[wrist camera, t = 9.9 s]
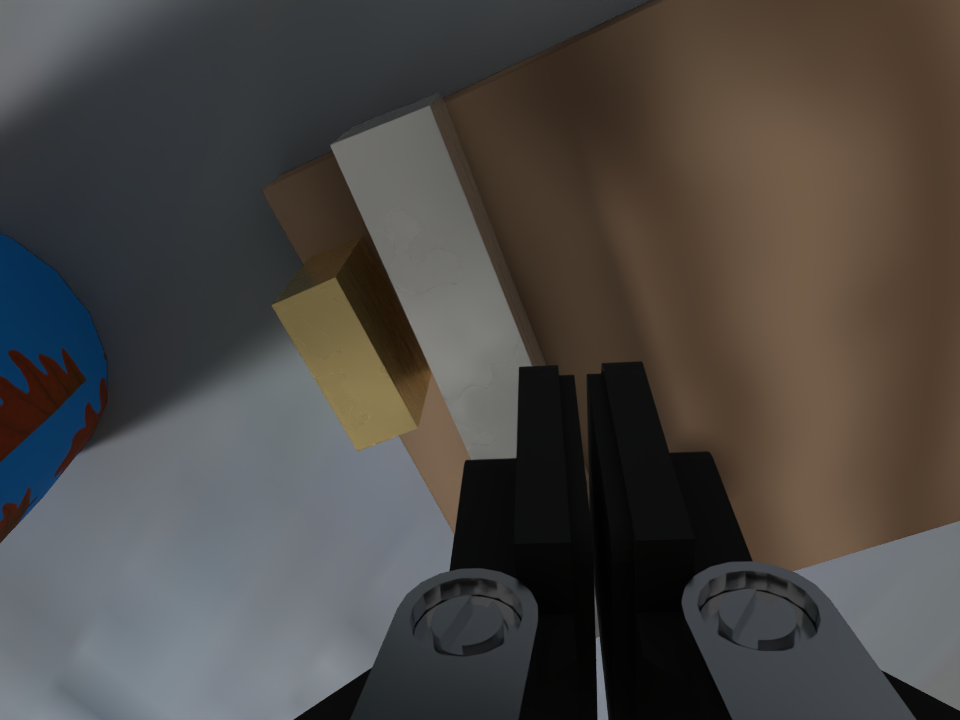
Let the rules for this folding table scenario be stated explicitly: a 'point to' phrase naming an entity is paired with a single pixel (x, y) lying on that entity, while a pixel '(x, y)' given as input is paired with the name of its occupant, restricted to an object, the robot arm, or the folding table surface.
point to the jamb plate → (731, 249)
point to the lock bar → (444, 267)
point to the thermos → (42, 380)
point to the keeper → (356, 343)
